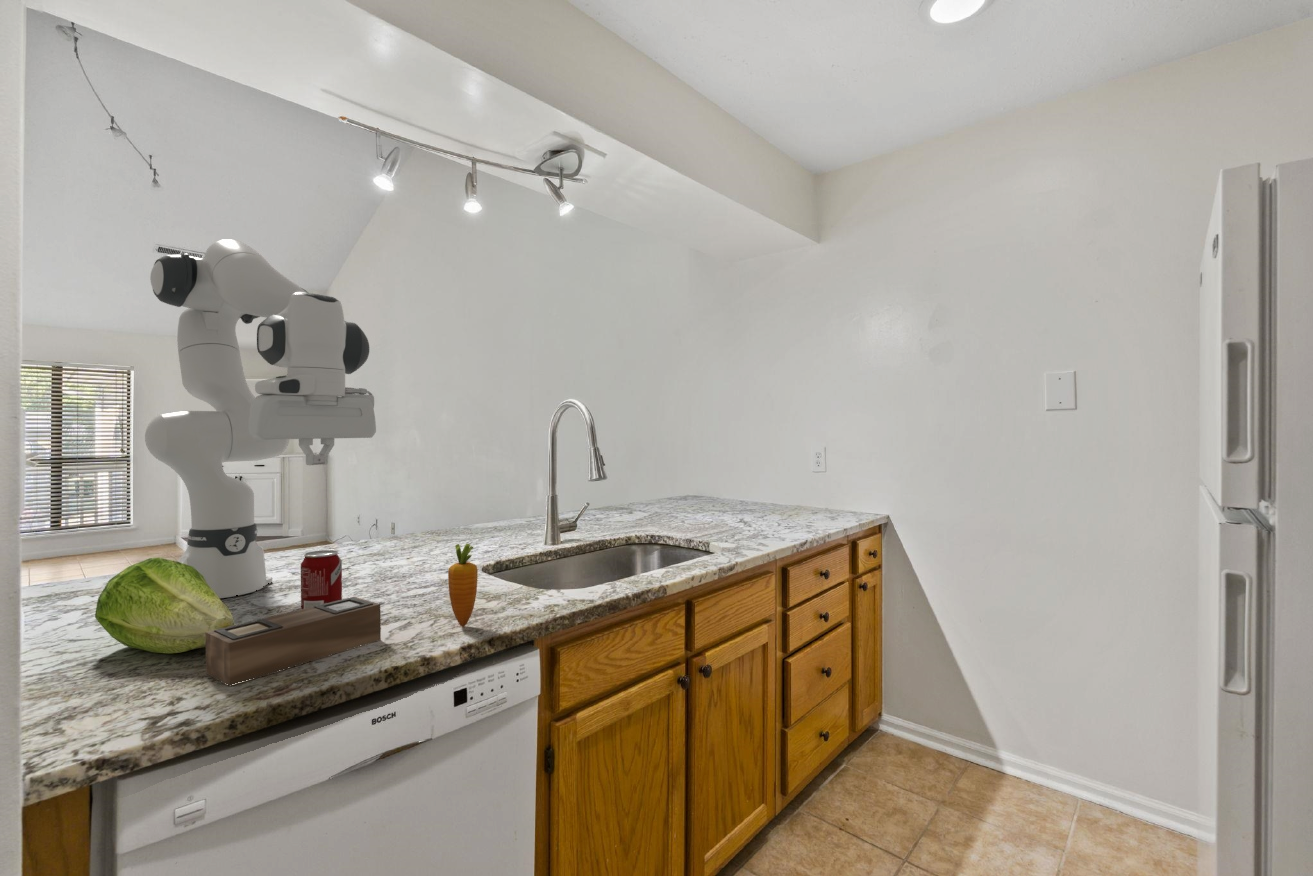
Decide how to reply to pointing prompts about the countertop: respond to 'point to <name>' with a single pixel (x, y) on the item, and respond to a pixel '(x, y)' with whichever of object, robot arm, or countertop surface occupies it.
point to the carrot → (463, 585)
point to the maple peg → (247, 629)
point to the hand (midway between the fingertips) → (316, 464)
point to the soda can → (321, 578)
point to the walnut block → (290, 640)
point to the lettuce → (161, 607)
